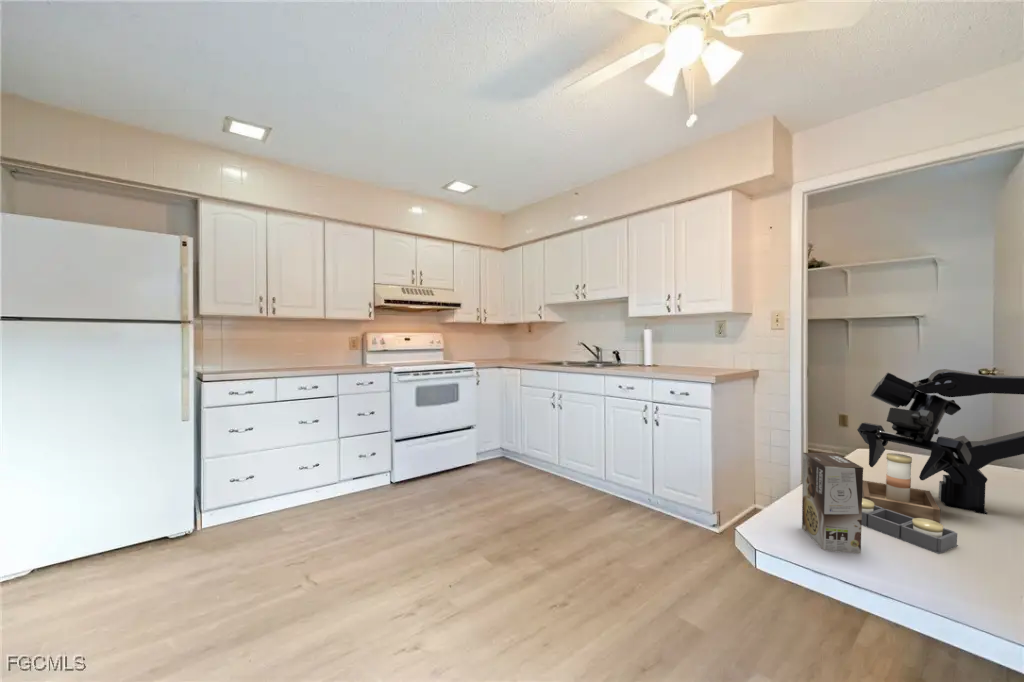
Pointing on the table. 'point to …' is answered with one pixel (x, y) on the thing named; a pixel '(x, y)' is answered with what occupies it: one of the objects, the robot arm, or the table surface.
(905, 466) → the cream capped cylinder
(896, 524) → the grey compartment tray
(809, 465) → the coffee box
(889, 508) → the walnut tray
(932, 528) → the fuse
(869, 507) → the cream domed cylinder
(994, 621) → the table surface
